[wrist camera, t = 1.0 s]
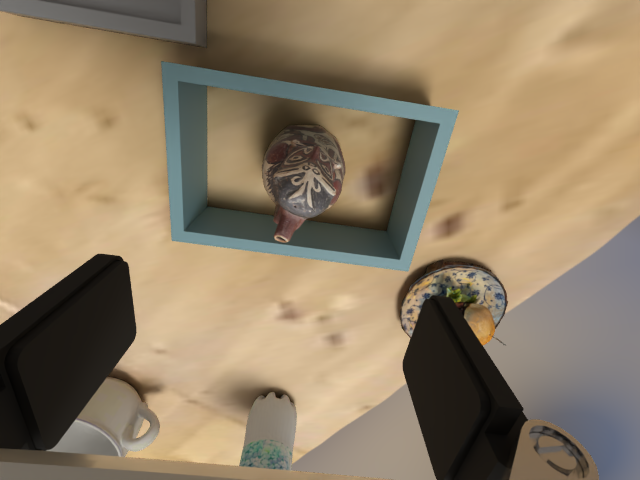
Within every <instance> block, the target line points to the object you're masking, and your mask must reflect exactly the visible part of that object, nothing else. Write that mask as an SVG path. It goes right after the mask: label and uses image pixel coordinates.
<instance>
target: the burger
mask: <svg viewBox="0 0 640 480" xmlns="http://www.w3.org/2000/svg"><path fill="white" fill-rule="evenodd" d="M432 295H436V296H444V297H450V298H452V299H453V301H454V302H455V304H456V306H457V307H458V309H459V310H460V312H461V313H462V315H463V316H464V318H465V319H466V321H467V322H468V324H469V326H470V327H471V329H472V330H473V332H474V333H475V335H476V336H477V338H478V339H479V341H480V343H481V344H482V345H485V344H486V343H487V342H489V341H490V340H491V339H492V337H493V335H494V332H495V329H496V327H497V326H498V324H499V323H500V321H501V319H502V317H503V316H504V314H505V310H506V307H507V304H508V301H507V294H506V291H505V289H504V287H503V284H502V283H501V282H500V281H499V279H498V278H497V277H496V276H495V274H494V275H493V274H492V273H491V270H490V271H489V270H488V269H485V268H483V267H480V266H478V265H477V266H476V265H473V264H467V263H464V262H454V261H453V262H445V263H444V262H443V260H442V261H439V262H436V263H435V264H431V265H429V266H428V267H427V271H426V274H424V275H423V276H422V277H420V278H419V279H417V280H416V281H415V282H414V283H413V284H412V285H411V286H410V289H409V291H408V293H407V295H406V296H405V298H404V299H403V302H402V305H401V310H400V317H401V326H402V329H403V330H404V331H405V332H406V334H407V335H408V336H409V337H410V338H411V336H412V333H413V330H414V328H415V325H416V322H417V319H418V316H419V313H420V310H421V308H422V305H423V302H424V300H425V299H429V298H430V297H431V296H432ZM497 340H498V339H497ZM498 341H500V340H498ZM500 342H501V341H500ZM501 343H502V342H501ZM504 345H505V344H504Z"/></svg>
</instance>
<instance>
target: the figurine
mask: <svg viewBox="0 0 640 480" xmlns="http://www.w3.org/2000/svg"><path fill="white" fill-rule="evenodd" d="M344 175H345V162H344V159H343V155H342V152H341V149H340V145H339V143H338V141H337V139H336V137H334V136H333V135H331V134H330V133H328V132H327V131H326V130H325V129H324V128H323V127H321V126H320V125H289V126H288V127H286V128H284V129H283V130H282V131H281V132H280V133H279V134H278V135H277V136H276V137H275V138H274V139H273V141H272V142H271V144H270V145H269V147H268V149H267V152H266V154H265V157H264V160H263V164H262V178H263V183H264V187H265V189H266V191H267V193H268V195H269V197H270V198H271V199H272V200H273V201H274V203H275V204H276V209H275V214H274V219H273V221H274V222H275V223H276V224H278V225H277V228H276V231H275V233H274V238H275V240H277V241H279V242H288V241H290V239H291V237H292V235H293V233H294V231H295V230H297V229H298V228H299V227H300V226H301V225H302V223H303V222H304V221H305V220H306V219H308V218H312V217H315V216H317V215H320V214H321V213H323V212H324V211H325V210H327V209H328V208H330V207H331V206H332V205H333V204H334V203H335V202H336V201H337V199H338V197H339V195H340V193H341V189H342V183H343V179H344Z"/></svg>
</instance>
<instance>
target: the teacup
mask: <svg viewBox="0 0 640 480" xmlns="http://www.w3.org/2000/svg"><path fill="white" fill-rule="evenodd" d="M144 419H146V420H148V421H149V422H150V428H149V429H148V431H147V432H146V433H145V434H144V435H143V436H141V437H139V438H136V436H137V435H138V433H139V430H140V428H141V426H142V423H143V420H144ZM159 428H160V424H159V420H158V418H157V416H156V415H155V414H154V413H153V412H152V411H151V410H150V409H148V405H147V404H146V402H142V401H141V399H140V397H139V395H138V393H137V391H136V390H135V389H134V388H133V387H132V386H131V385H129V384H128V383H126V382H125V381H122V380H120V379H116V378H111V377H107V378H106V379H105V381H104V382H103V383H102V385H101V386H100V387H99V389H98V390H97V391H96V393H95V394H94V395H93V397H92V398H91V399H90V401H89V402H88V403H87V405H86V406H85V407H84V409H83V410H82V411H81V413H80V414H79V416H78V417H77V418H76V420H75V421H74V422H73V424H72V425H71V426H70V428H69V429H68V430H67V432H66V433H65V434H64V436H63V437H62V438H61V440H60V441H59V442H58V444H57V445H56V446H55V447H54V448H52V449H50V450H46V451H54V452H67V453H79V454H92V455H105V456H118V457H125V456H126V454H127V452H128V451H140V450H142V449H144V448H146V447H147V446H149V445H150V444H151V443H152V442H153V441H154V439H155V438H156V437H157V435H158V433H159ZM135 438H136V439H135Z"/></svg>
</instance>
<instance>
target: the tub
mask: <svg viewBox="0 0 640 480" xmlns="http://www.w3.org/2000/svg"><path fill="white" fill-rule="evenodd" d="M161 65H162V82H163V99H164V116H165V133H166V150H167V167H168V185H169V202H170V219H171V236H172V241H178V242H186V243H193V244H201V245H209V246H216V247H224V248H232V249H239V250H247V251H255V252H262V253H270V254H278V255H285V256H293V257H301V258H308V259H316V260H324V261H331V262H339V263H347V264H354V265H362V266H370V267H378V268H385V269H393V270H401V271H409V267H410V264H411V261H412V258H413V255H414V252H415V248H416V245H417V242H418V239H419V236H420V233H421V229H422V226H423V223H424V220H425V217H426V213H427V210H428V207H429V204H430V201H431V198H432V194H433V191H434V188H435V185H436V182H437V178H438V175H439V172H440V169H441V166H442V163H443V159H444V156H445V153H446V150H447V147H448V144H449V140H450V137H451V134H452V131H453V128H454V124H455V121H456V118H457V115H458V112H459V111H458V110H452V109H446V108H440V107H434V106H428V105H422V104H416V103H410V102H404V101H398V100H392V99H386V98H380V97H374V96H368V95H362V94H356V93H350V92H344V91H338V90H332V89H326V88H320V87H314V86H308V85H302V84H296V83H290V82H284V81H278V80H272V79H266V78H260V77H254V76H248V75H242V74H236V73H230V72H223V71H217V70H211V69H205V68H199V67H193V66H187V65H181V64H175V63H169V62H163V61H161ZM207 86H212V87H218V88H225V89H231V90H237V91H243V92H249V93H255V94H261V95H268V96H274V97H280V98H286V99H292V100H298V101H304V102H310V103H317V104H323V105H329V106H335V107H341V108H347V109H353V110H360V111H366V112H372V113H378V114H384V115H390V116H396V117H403V118H409V119H415V124H414V128H413V132H412V136H411V140H410V143H409V147H408V151H407V155H406V159H405V162H404V166H403V170H402V174H401V178H400V181H399V185H398V189H397V193H396V197H395V200H394V204H393V208H392V212H391V216H390V219H389V223H388V227H387V231H381V230H374V229H367V228H360V227H352V226H345V225H338V224H331V223H323V222H316V221H309V220H305V221H304V222H303V223H302V225H301V226H300V227H299V228H298V229H297V230H295V231H294V233H293V235H292V237H291V239H290V241H288V242H279V241H277V240H275V238H274V233H275V231H276V228H277V225H278V224H276V223H275V222H274V221H273V219H274V216H273V215H266V214H258V213H251V212H244V211H237V210H229V209H222V208H215V207H208V206H207Z"/></svg>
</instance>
